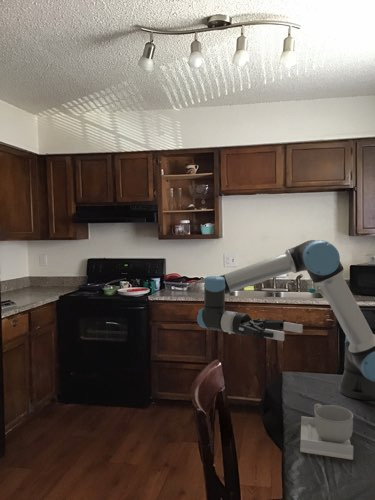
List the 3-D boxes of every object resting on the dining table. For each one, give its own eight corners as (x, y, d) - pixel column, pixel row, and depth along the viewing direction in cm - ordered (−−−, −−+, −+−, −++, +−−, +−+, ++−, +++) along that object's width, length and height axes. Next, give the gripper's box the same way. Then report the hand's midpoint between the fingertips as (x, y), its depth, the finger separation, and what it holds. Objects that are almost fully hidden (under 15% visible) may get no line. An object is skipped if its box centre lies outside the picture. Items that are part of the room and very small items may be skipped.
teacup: (360, 446, 120) (361, 418, 120) (324, 449, 119) (325, 420, 118) (335, 424, 134) (336, 399, 134) (302, 426, 133) (303, 401, 132)
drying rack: (301, 427, 136) (301, 416, 136) (347, 433, 132) (348, 422, 132) (300, 451, 121) (300, 439, 121) (352, 459, 117) (353, 446, 117)
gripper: (254, 327, 160) (308, 336, 147) (216, 340, 140) (275, 352, 127) (254, 307, 159) (309, 315, 146) (216, 318, 140) (275, 327, 127)
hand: (293, 332), depth 137 cm, fingers open, 13 cm apart
